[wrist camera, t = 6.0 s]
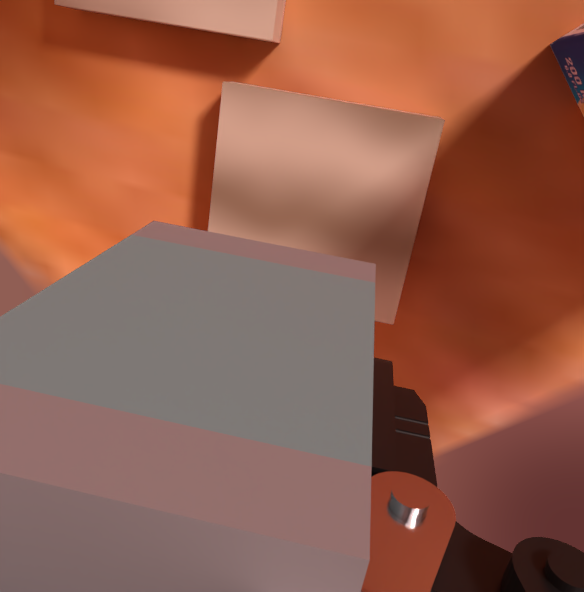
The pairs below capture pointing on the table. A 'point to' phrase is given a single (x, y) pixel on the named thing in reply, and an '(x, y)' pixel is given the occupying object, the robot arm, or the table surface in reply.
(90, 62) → the table surface
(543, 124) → the table surface
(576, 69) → the blue food carton
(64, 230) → the table surface
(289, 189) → the stand
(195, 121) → the table surface
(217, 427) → the block
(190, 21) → the stand
